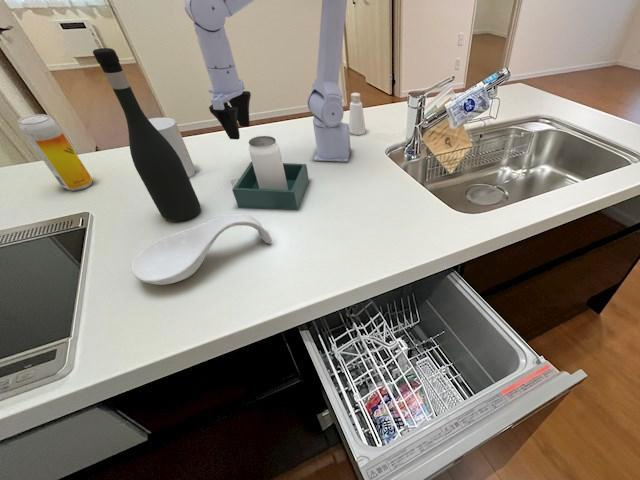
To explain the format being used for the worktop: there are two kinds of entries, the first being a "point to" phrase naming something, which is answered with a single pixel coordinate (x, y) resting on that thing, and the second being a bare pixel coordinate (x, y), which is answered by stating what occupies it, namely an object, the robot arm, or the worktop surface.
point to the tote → (255, 197)
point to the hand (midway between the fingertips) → (240, 132)
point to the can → (267, 163)
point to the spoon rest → (186, 250)
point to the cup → (174, 141)
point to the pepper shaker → (356, 116)
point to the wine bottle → (151, 149)
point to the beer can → (55, 151)
